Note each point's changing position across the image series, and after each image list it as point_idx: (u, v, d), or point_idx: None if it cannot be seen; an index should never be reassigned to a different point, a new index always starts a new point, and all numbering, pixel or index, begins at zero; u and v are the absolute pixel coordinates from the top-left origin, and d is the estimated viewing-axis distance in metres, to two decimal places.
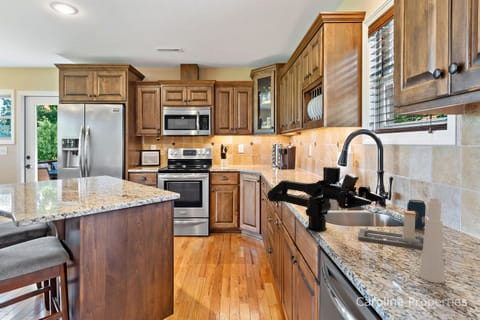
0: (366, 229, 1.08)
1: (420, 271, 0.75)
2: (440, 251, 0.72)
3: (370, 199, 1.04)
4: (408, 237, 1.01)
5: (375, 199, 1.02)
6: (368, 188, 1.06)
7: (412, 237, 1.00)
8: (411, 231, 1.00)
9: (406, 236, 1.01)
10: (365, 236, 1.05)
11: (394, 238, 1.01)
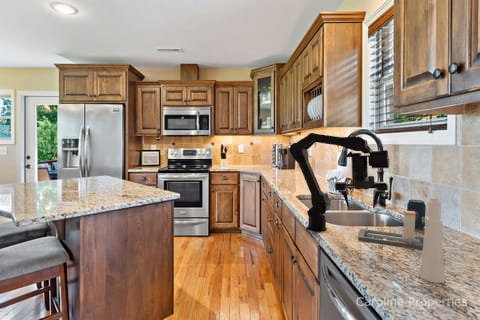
0: (366, 229, 1.08)
1: (420, 271, 0.75)
2: (440, 251, 0.72)
3: (373, 195, 1.07)
4: (408, 237, 1.01)
5: (373, 200, 1.07)
6: (379, 192, 1.03)
7: (412, 237, 1.00)
8: (411, 231, 1.00)
9: (406, 236, 1.01)
10: (365, 236, 1.05)
11: (394, 238, 1.01)
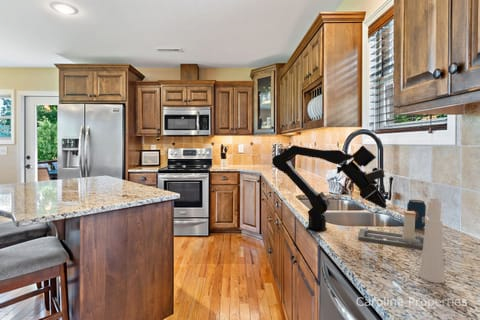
0: (366, 229, 1.08)
1: (420, 271, 0.75)
2: (440, 251, 0.72)
3: None
4: (408, 237, 1.01)
5: None
6: None
7: (412, 237, 1.00)
8: (411, 231, 1.00)
9: (406, 236, 1.01)
10: (365, 236, 1.05)
11: (394, 238, 1.01)
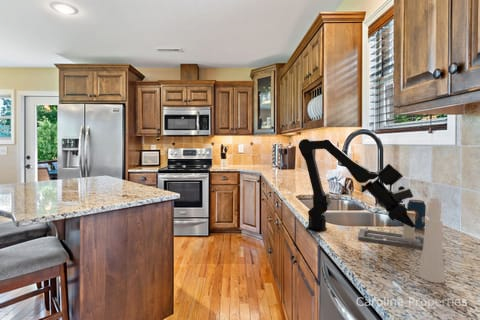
0: (366, 229, 1.08)
1: (420, 271, 0.75)
2: (440, 251, 0.72)
3: None
4: (408, 237, 1.01)
5: None
6: (404, 206, 1.05)
7: (412, 237, 1.00)
8: (411, 231, 1.00)
9: (406, 236, 1.01)
10: (365, 236, 1.05)
11: (394, 238, 1.01)
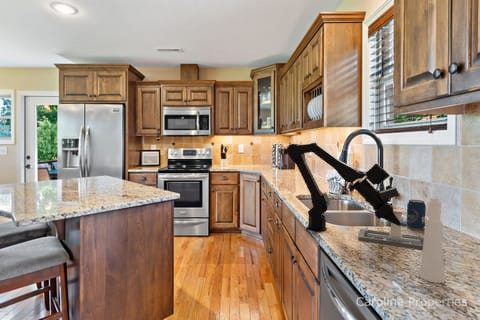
0: (366, 229, 1.08)
1: (420, 271, 0.75)
2: (440, 251, 0.72)
3: None
4: (395, 235, 1.03)
5: None
6: None
7: (399, 235, 1.02)
8: (398, 230, 1.02)
9: (393, 234, 1.03)
10: (365, 236, 1.05)
11: (394, 238, 1.01)
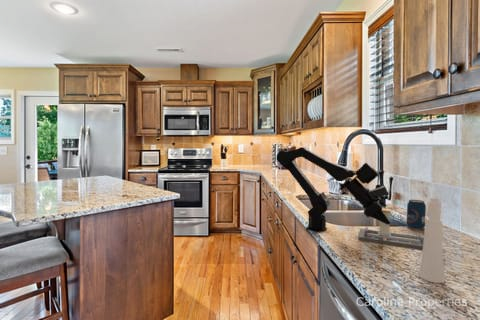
0: (366, 229, 1.08)
1: (420, 271, 0.75)
2: (440, 251, 0.72)
3: None
4: (383, 234, 1.04)
5: None
6: (381, 203, 1.09)
7: (387, 234, 1.04)
8: (386, 228, 1.04)
9: (381, 233, 1.05)
10: (365, 236, 1.05)
11: (394, 238, 1.01)
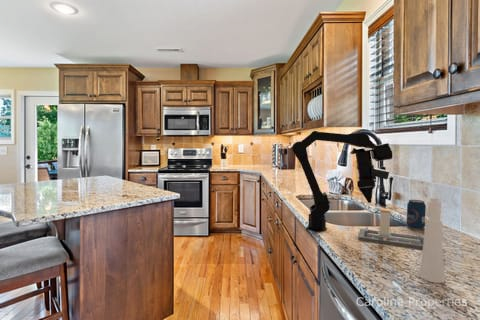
0: (366, 229, 1.08)
1: (420, 271, 0.75)
2: (440, 251, 0.72)
3: None
4: (383, 234, 1.04)
5: None
6: (375, 181, 1.17)
7: (387, 234, 1.04)
8: (386, 228, 1.04)
9: (381, 233, 1.05)
10: (365, 236, 1.05)
11: (394, 238, 1.01)
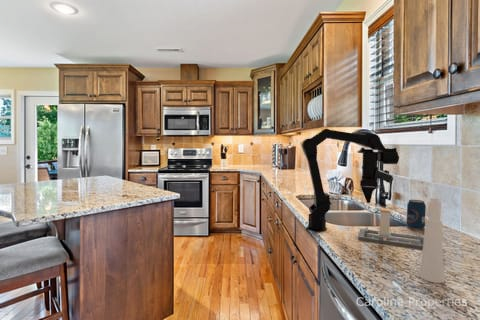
0: (366, 229, 1.08)
1: (420, 271, 0.75)
2: (440, 251, 0.72)
3: None
4: (383, 234, 1.04)
5: None
6: None
7: (387, 234, 1.04)
8: (386, 228, 1.04)
9: (381, 233, 1.05)
10: (365, 236, 1.05)
11: (394, 238, 1.01)
